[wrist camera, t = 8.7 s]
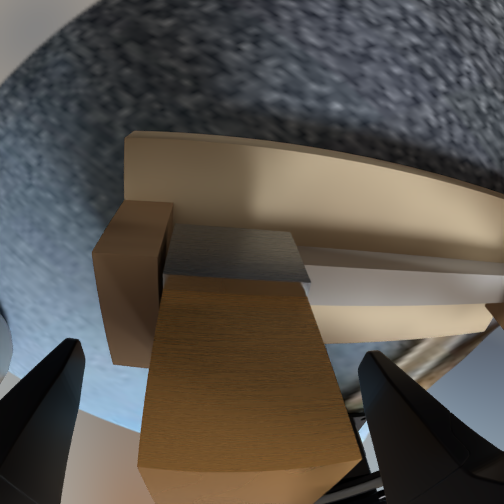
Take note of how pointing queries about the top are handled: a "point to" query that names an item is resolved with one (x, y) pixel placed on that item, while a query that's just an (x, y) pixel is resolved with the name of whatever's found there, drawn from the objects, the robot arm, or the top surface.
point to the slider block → (240, 377)
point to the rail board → (307, 236)
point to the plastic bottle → (5, 348)
